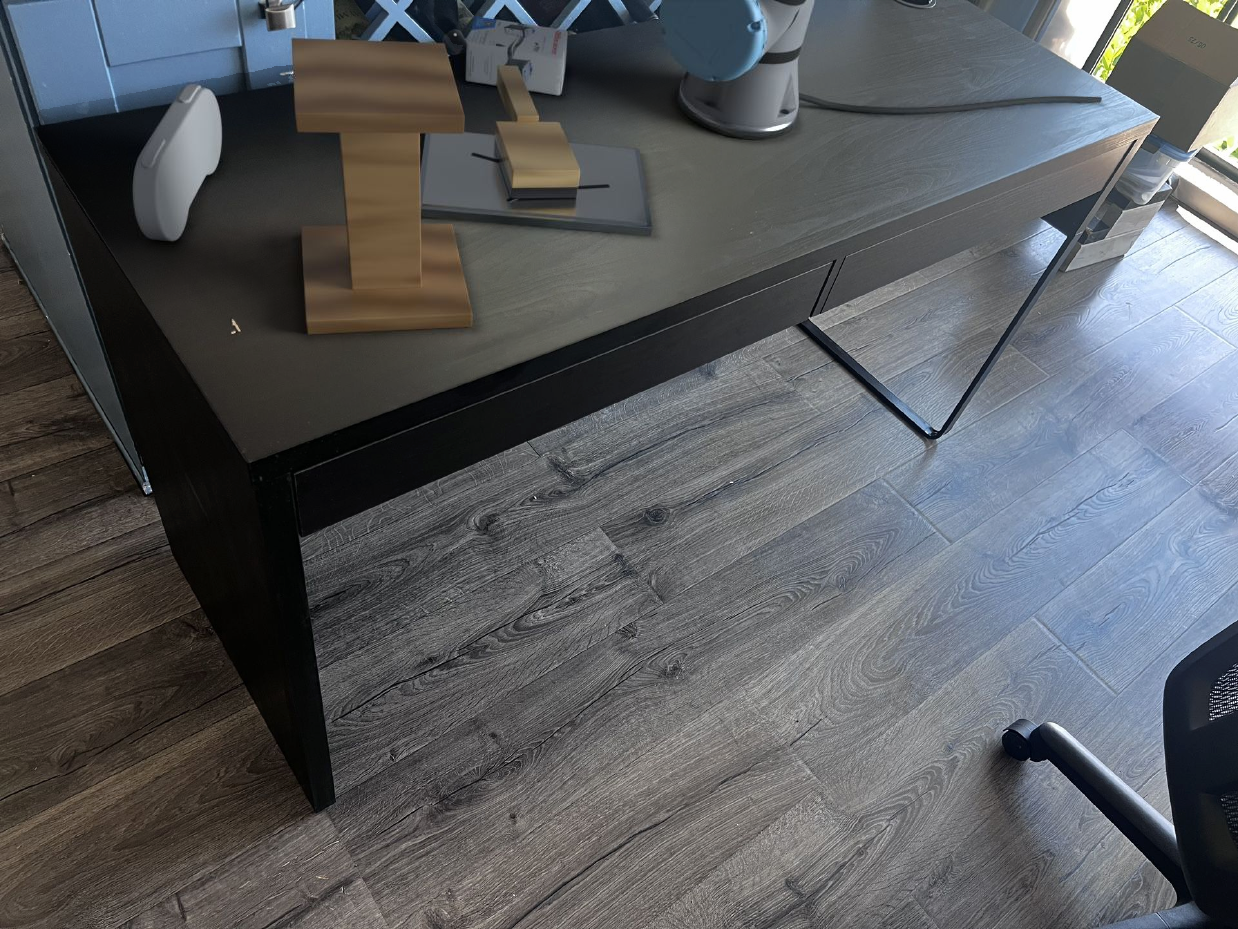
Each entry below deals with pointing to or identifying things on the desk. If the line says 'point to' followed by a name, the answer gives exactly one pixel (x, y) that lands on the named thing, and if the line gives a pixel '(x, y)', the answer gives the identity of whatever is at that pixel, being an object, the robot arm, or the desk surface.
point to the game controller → (177, 163)
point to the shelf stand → (379, 187)
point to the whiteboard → (476, 191)
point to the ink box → (517, 53)
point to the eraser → (531, 145)
